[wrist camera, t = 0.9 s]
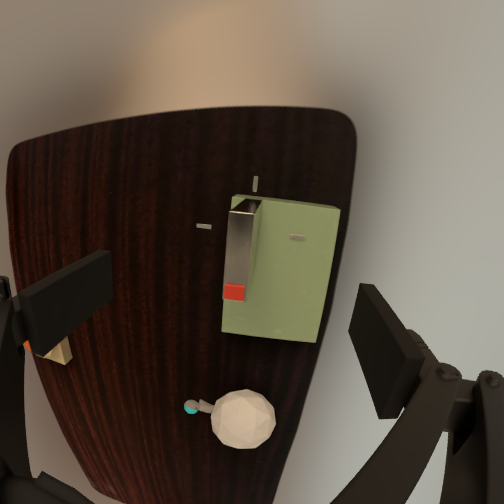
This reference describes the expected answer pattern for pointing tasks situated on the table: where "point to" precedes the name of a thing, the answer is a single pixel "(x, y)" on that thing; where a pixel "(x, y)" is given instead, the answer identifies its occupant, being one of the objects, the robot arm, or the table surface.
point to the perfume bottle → (238, 418)
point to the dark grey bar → (241, 249)
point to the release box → (60, 352)
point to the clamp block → (286, 271)
